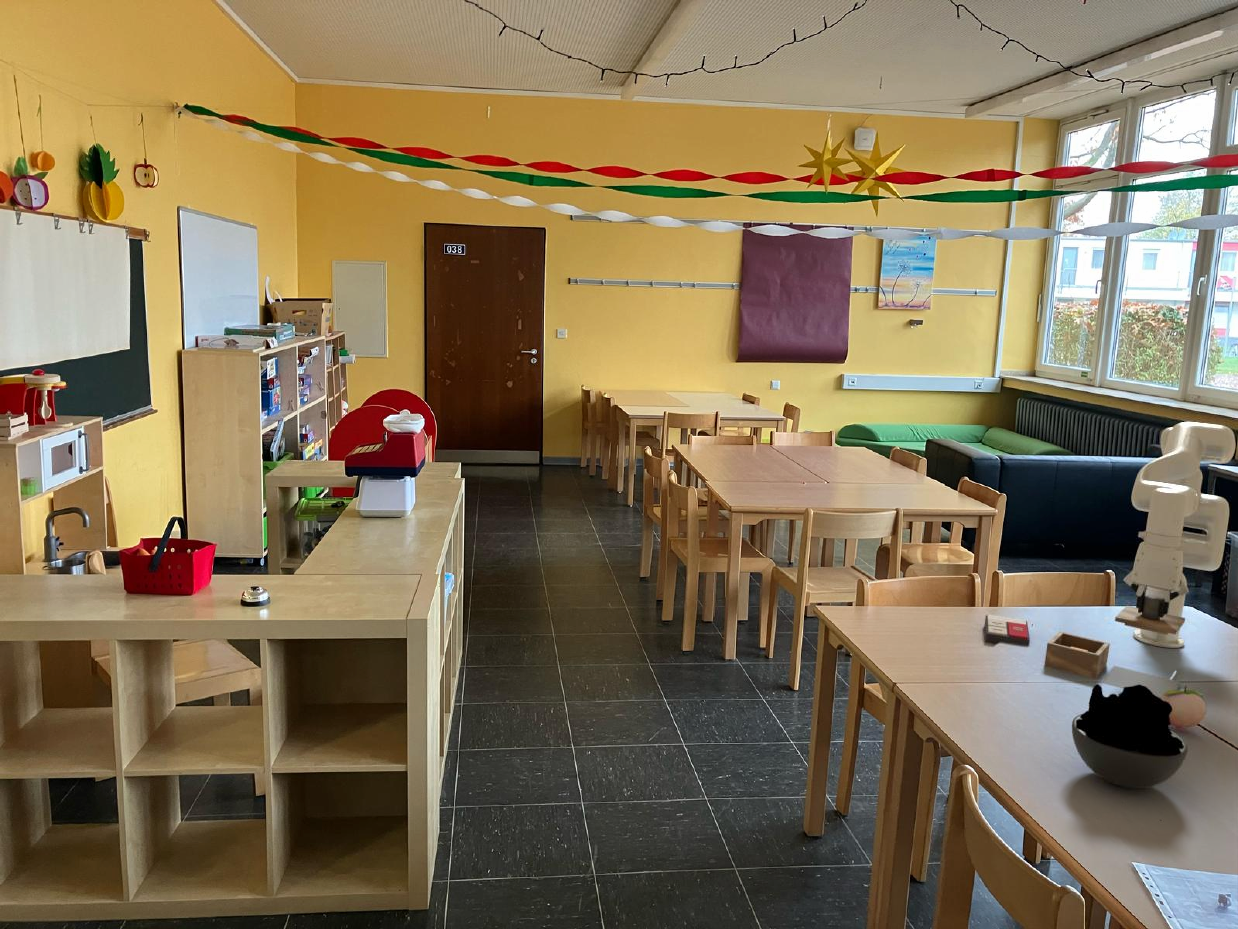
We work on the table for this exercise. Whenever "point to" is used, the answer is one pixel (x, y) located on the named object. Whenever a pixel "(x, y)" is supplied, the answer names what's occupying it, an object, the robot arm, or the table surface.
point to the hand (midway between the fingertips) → (1151, 613)
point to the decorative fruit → (1185, 707)
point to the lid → (1150, 617)
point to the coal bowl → (1129, 738)
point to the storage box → (1077, 654)
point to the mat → (1139, 680)
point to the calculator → (1006, 630)
